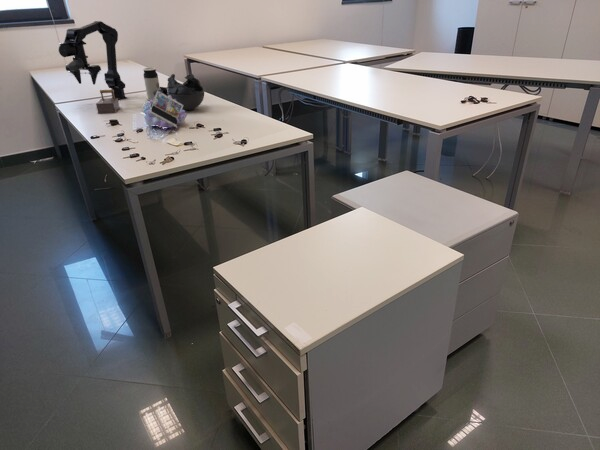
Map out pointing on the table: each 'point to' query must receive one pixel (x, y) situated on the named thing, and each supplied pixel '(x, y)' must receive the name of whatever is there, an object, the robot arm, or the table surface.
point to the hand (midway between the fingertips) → (87, 84)
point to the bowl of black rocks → (186, 91)
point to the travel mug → (151, 82)
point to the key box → (108, 108)
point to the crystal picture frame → (163, 111)
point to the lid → (106, 100)
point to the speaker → (162, 89)
